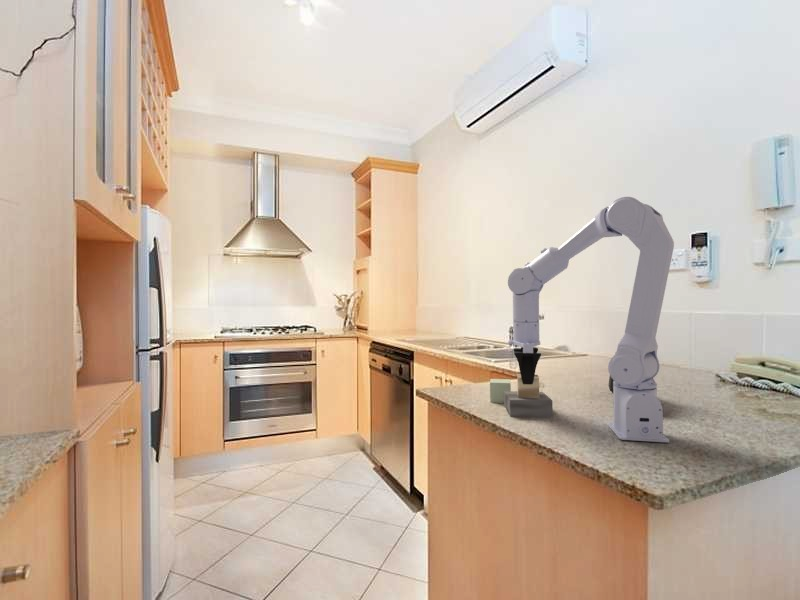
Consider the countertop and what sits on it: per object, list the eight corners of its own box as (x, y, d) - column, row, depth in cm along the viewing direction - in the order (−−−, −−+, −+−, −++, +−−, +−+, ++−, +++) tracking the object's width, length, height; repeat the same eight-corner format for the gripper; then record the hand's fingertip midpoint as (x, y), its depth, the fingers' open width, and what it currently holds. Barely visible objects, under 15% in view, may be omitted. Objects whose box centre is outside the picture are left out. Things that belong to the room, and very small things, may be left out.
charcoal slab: (552, 418, 91) (552, 400, 91) (510, 418, 91) (510, 400, 91) (542, 408, 99) (542, 391, 100) (504, 407, 100) (503, 391, 100)
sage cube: (510, 403, 104) (510, 383, 104) (490, 402, 105) (490, 382, 105) (510, 398, 108) (510, 379, 108) (490, 397, 110) (490, 378, 110)
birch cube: (539, 398, 93) (539, 378, 93) (518, 397, 94) (518, 377, 94) (537, 394, 97) (537, 374, 97) (517, 393, 98) (517, 374, 98)
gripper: (507, 320, 104) (508, 375, 103) (508, 323, 89) (509, 386, 89) (537, 320, 102) (538, 375, 102) (543, 323, 88) (543, 388, 88)
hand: (526, 381), depth 95 cm, fingers open, 6 cm apart
